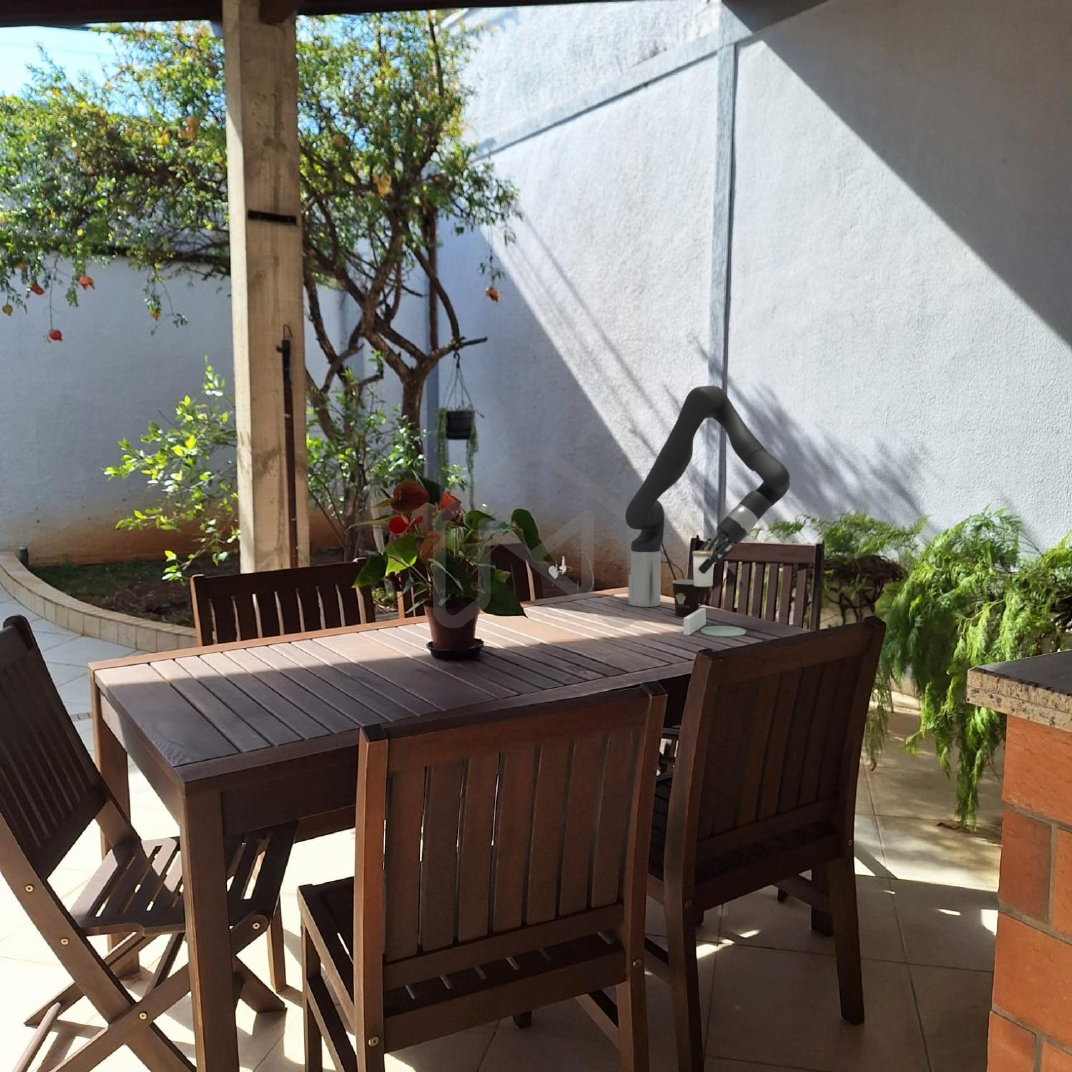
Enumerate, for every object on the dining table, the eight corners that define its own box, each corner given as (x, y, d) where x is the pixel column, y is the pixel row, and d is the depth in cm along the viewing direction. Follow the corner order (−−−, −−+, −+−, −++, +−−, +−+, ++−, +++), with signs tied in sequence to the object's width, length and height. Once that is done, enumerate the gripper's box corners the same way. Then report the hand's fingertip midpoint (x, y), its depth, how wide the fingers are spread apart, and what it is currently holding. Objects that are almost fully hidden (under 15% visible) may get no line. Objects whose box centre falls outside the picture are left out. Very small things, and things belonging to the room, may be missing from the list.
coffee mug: (666, 613, 289) (666, 580, 288) (690, 611, 293) (690, 578, 292) (688, 620, 279) (688, 586, 278) (713, 618, 282) (713, 584, 281)
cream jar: (690, 586, 263) (689, 552, 262) (696, 583, 267) (696, 550, 267) (710, 586, 260) (709, 553, 259) (715, 584, 265) (715, 550, 264)
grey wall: (683, 634, 260) (683, 618, 259) (700, 623, 274) (700, 608, 274) (688, 635, 259) (689, 618, 259) (705, 624, 273) (705, 608, 273)
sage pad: (695, 634, 260) (695, 632, 260) (707, 625, 271) (707, 624, 271) (739, 638, 255) (739, 636, 255) (750, 629, 266) (750, 627, 266)
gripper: (717, 513, 271) (677, 558, 269) (739, 517, 257) (697, 564, 255) (735, 531, 272) (696, 576, 271) (757, 536, 258) (716, 583, 257)
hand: (696, 570), depth 263 cm, fingers closed on cream jar, 5 cm apart
